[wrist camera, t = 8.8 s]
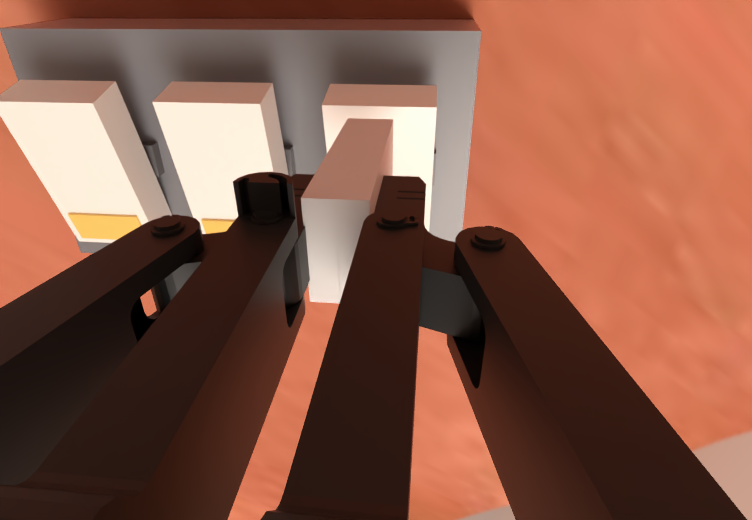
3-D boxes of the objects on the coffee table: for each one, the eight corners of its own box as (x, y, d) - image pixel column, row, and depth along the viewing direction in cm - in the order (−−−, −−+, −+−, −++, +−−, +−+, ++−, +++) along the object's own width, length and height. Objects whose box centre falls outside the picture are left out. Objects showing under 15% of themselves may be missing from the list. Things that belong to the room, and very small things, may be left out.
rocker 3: (330, 84, 21) (321, 106, 19) (437, 85, 20) (436, 109, 19) (343, 229, 26) (337, 257, 25) (428, 233, 26) (427, 261, 24)
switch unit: (67, 18, 27) (-11, 29, 22) (473, 19, 25) (482, 32, 20) (128, 222, 34) (77, 265, 29) (454, 236, 32) (458, 285, 27)
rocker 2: (171, 81, 21) (150, 103, 20) (272, 83, 21) (258, 105, 19) (217, 224, 27) (203, 250, 25) (297, 227, 27) (288, 254, 25)
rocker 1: (20, 79, 22) (-11, 103, 20) (115, 81, 22) (90, 105, 20) (97, 217, 28) (77, 243, 26) (174, 220, 27) (158, 246, 26)
